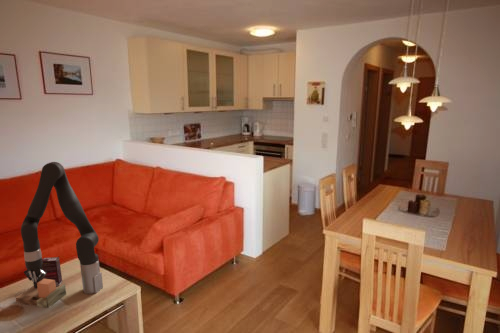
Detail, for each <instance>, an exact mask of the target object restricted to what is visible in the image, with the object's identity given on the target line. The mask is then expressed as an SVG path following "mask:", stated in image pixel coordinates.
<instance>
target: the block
mask: <svg viewBox="0 0 500 333" xmlns="http://www.w3.org/2000/svg"><path fill="white" fill-rule="evenodd" d="M37 288H38V295H39V297H43V298H46V296H48V295H49V294H51V293H52V292H53V291H55V290H56V288H57V286H56V284H55V280H51V279H42V280H41V281H39V282H38V283H37Z"/></svg>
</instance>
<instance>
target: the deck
mask: <svg viewBox="0 0 500 333" xmlns="http://www.w3.org/2000/svg"><path fill="white" fill-rule="evenodd" d="M66 295H67V288H66V284H64V283H63V284H62V285H59V286H58V287H56V290H55V291H53V292H52V293H51V294H49V295H48V296H46V298H43V297H39V295H38V288H34V285H32V286H31V287H30V288H28V289H26V290H25V291H24V292H21V294H19V295H17V296H16V297H15V301H16V302H15V303H16V304H21V303H22V305H27V306H35V307H42V308H51V307H52V306H53V305H54V304H56V303H57V302H59V301H60V300H61V299H62V298H64V297H65V296H66Z"/></svg>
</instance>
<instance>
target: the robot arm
mask: <svg viewBox="0 0 500 333" xmlns="http://www.w3.org/2000/svg"><path fill="white" fill-rule="evenodd" d="M38 181H39V182H38V186H37V188H36V192H35V194H34V196H33V198H32V201H31V203H30V205H29V208H28V210H27V213H26V215H25V218H23V221H22V223H21V226H20V235H21V240H22V242H23V243H22V245H23V246H22V247H23V256H24V265H25V268H26V270H24V271H23V274H24V275H25V276H26V278H27V279H28V280H29V281H30V282H33V286H34V288H37V283H38V282H39V281H41V280H42V279H43V278H44V277H45V275H46V274H47V272H44V271H43V268H42V264H43V261H42V259H43V254H42V250H41V244H40V240H39V233H38V226H39V223H40V221H41V218H43V215H44V213H45V211H46V209H47V207H48V204H49V201H50V196H51V193H52V191H53V187H54V189H55V193H56V197H57V202H58V205H59V208H60V209H61V212H62V213H63V215H64V217H65V218H66V219H67V220H68V221H70V222H71V223H72V224H73V225H74V226H75V227H76V228H77V230H78V232H79V235H80V237H78V239H77V240H76V242H75V248H76V249H75V250H76V254H77V256H76V257H77V259H78V261H79V265H80V266H79V267H80V274H81V276H80V277H81V283H82V291H83V293H84V294H85V295H93V294H97V293H98V292H99V291H100V290H101V289H103V288H104V285H103V275H102V273H103V272H102V271H101V270H100V261H99V254H97V253H95V247H96V246H97V245H98V243H99V242H100V241H99V239H100V238H99V236H98V233H97V232H96V230H95V229H94V227H93V225H92V224H91V223H90V220H89V219H88V217H87V215H86V213H85V210H84V208H83V206H82V204H81V202H80V199H79V198H78V196H77V194H76V193H75V190H74V189H73V187H72V186H71V183H70V181H69V178H68V176H67V172H66V171H65V168H64V165H62V164H61V163H59V162H57V161H51V162H47V163H46V164H45V165H43V166H42V168H41V172H40V177H39V180H38Z"/></svg>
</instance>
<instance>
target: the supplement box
mask: <svg viewBox="0 0 500 333" xmlns="http://www.w3.org/2000/svg"><path fill="white" fill-rule="evenodd" d="M42 261H43V264H42V268H43V271H44V272H47V274H46V275H45V277H44V278H43V279H51V280H55V284H56V287H57V286H58V287H60V286H61V284H62V282H63V278H62V277H63V276H62V270H61V263H60V257H59V256H55V257H54V256H53V257H42Z"/></svg>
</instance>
